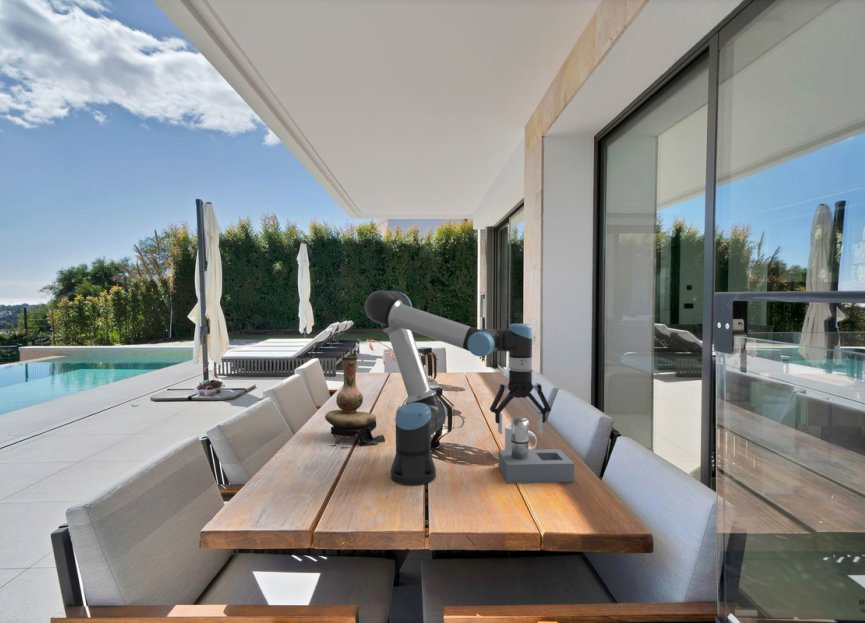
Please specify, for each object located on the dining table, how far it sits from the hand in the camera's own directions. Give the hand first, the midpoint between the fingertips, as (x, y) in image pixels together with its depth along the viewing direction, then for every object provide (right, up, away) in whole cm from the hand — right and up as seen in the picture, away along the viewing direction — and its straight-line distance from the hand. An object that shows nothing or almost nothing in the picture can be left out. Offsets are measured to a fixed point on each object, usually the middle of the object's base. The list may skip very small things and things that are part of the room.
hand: (520, 432), depth 149 cm
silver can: (0, -8, 0) cm, 8 cm away
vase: (-63, -14, +39) cm, 76 cm away
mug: (+4, -14, +19) cm, 24 cm away
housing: (+5, -14, +1) cm, 15 cm away
